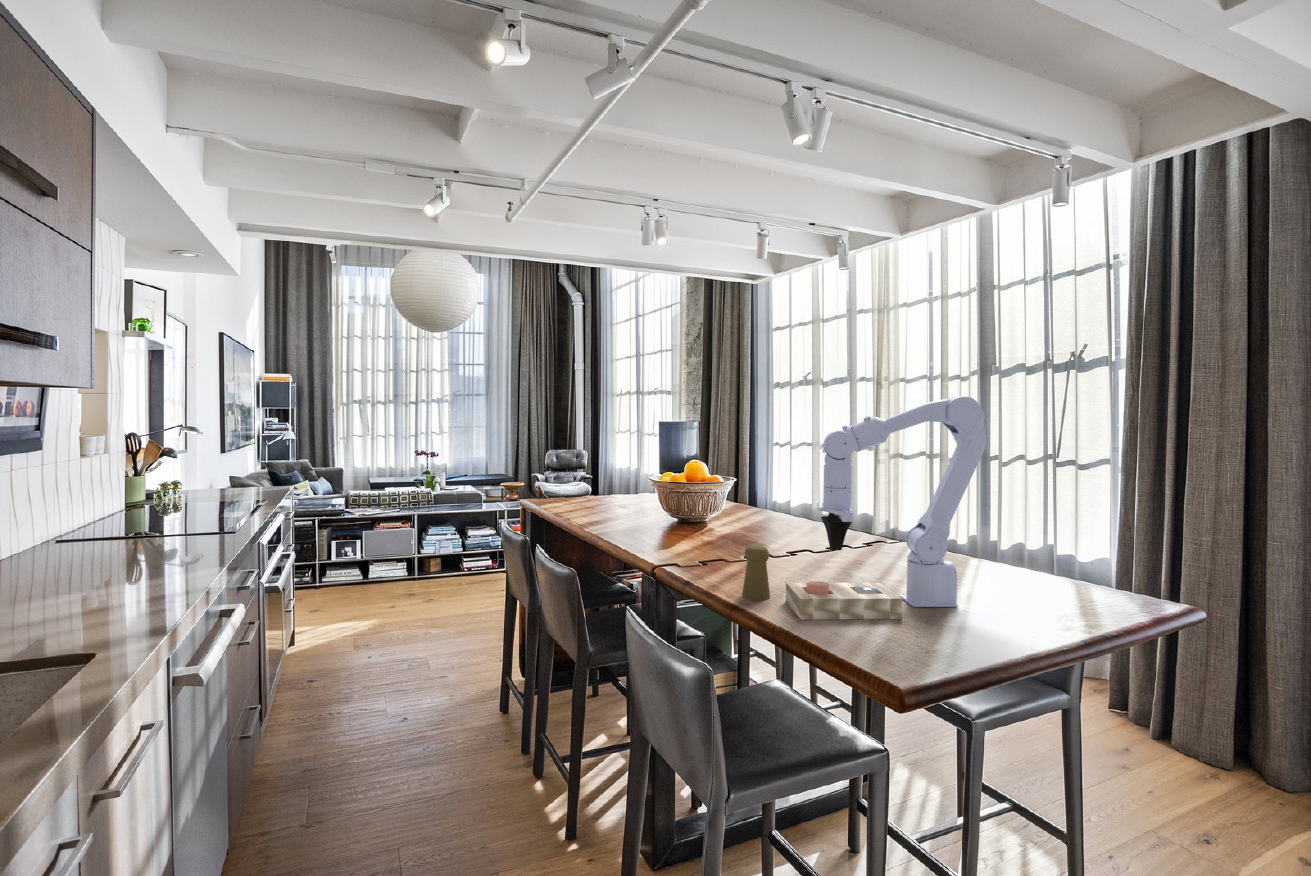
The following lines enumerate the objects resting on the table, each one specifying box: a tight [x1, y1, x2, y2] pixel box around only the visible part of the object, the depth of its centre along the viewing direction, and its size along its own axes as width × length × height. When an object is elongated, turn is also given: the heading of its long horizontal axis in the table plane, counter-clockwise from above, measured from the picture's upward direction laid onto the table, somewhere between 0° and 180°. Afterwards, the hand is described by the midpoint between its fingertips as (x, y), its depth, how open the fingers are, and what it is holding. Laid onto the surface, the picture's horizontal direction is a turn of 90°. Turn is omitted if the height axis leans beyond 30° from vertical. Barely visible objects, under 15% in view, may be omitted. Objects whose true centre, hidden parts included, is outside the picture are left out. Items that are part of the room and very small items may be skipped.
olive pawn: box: [741, 544, 771, 601], centre depth 145 cm, size 6×6×11 cm
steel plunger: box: [855, 585, 878, 594], centre depth 137 cm, size 4×4×4 cm
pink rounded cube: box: [806, 580, 829, 594], centre depth 136 cm, size 4×4×4 cm
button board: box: [785, 582, 903, 620], centre depth 136 cm, size 20×12×4 cm, turn 93°
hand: (835, 549), depth 145 cm, fingers closed
